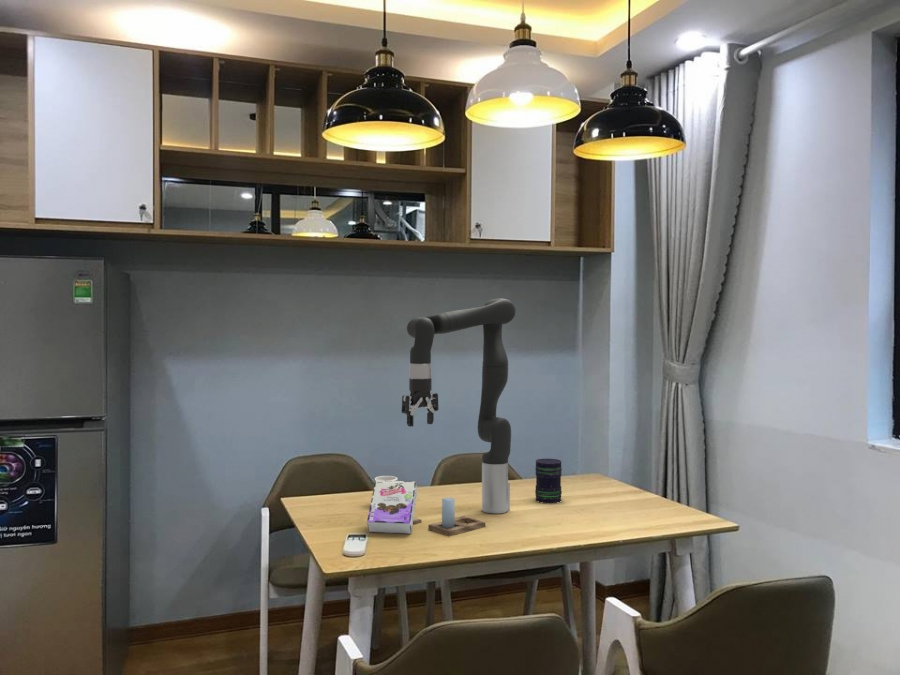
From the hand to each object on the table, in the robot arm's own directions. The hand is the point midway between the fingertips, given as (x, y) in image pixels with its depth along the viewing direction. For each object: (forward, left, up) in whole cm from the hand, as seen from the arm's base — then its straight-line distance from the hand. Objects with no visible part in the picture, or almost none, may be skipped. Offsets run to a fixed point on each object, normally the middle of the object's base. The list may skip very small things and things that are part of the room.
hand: (420, 425), depth 238 cm
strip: (+5, 0, -32) cm, 32 cm away
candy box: (+18, +7, -30) cm, 36 cm away
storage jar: (-54, +11, -32) cm, 64 cm away
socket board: (-3, +15, -32) cm, 36 cm away
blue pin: (+1, +15, -32) cm, 35 cm away
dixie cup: (-4, -24, -32) cm, 40 cm away
